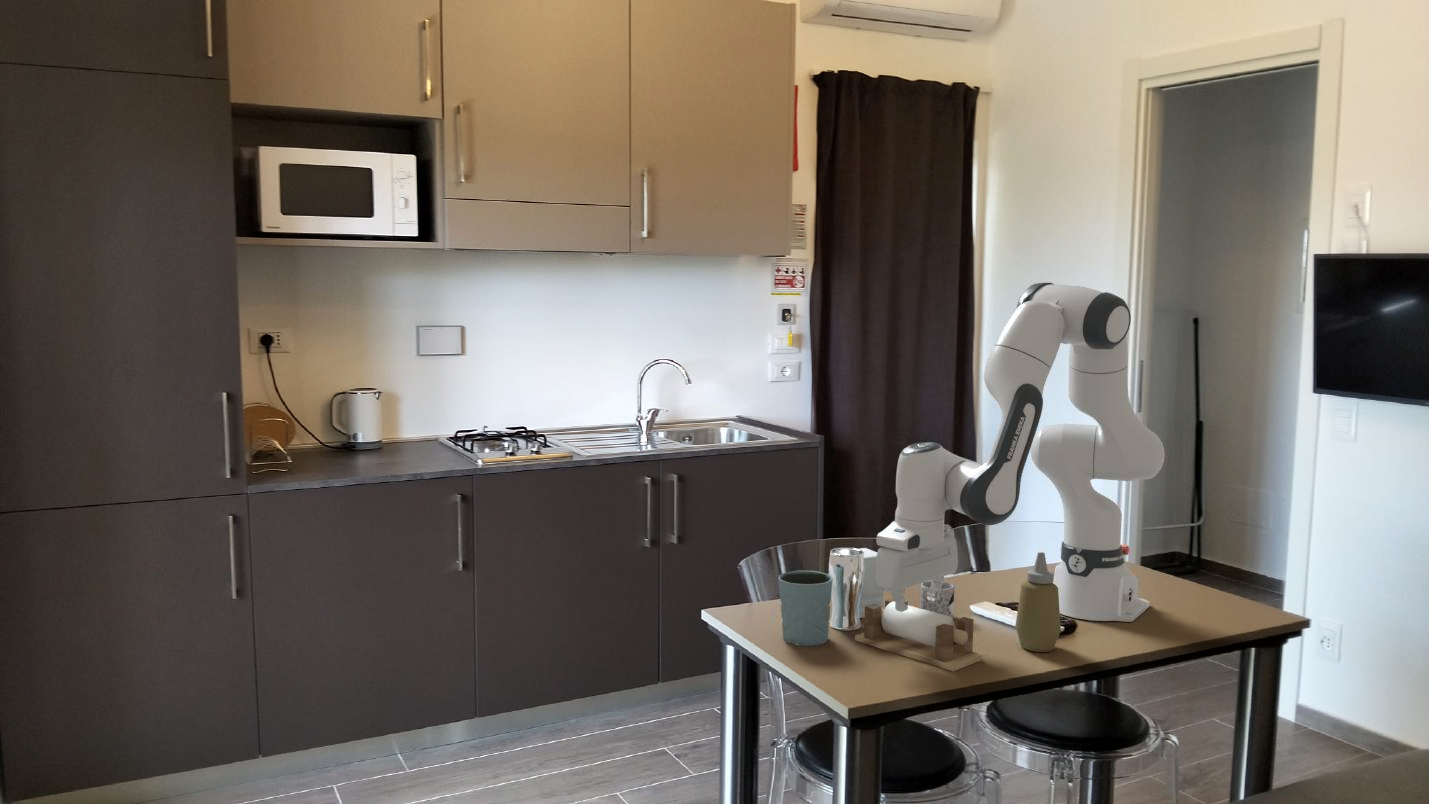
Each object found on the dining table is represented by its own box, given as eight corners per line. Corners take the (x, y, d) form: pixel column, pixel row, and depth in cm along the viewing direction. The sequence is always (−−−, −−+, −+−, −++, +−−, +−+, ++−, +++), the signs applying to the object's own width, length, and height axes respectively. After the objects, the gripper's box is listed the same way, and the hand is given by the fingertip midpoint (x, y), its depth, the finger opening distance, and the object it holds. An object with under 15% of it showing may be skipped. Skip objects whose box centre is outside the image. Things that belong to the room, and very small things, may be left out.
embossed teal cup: (842, 641, 199) (843, 578, 197) (800, 651, 193) (802, 586, 192) (807, 627, 207) (808, 567, 206) (766, 636, 201) (767, 574, 200)
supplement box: (864, 606, 222) (866, 547, 221) (883, 615, 215) (885, 555, 214) (834, 609, 219) (835, 550, 218) (852, 619, 212) (854, 558, 211)
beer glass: (842, 633, 203) (844, 557, 202) (820, 623, 209) (822, 549, 208) (870, 627, 207) (872, 553, 205) (847, 618, 213) (849, 545, 211)
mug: (956, 622, 211) (957, 589, 211) (923, 621, 211) (924, 589, 211) (945, 607, 221) (946, 576, 221) (913, 607, 221) (914, 576, 221)
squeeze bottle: (1025, 637, 202) (1029, 545, 200) (1066, 647, 197) (1071, 552, 195) (1007, 648, 196) (1011, 553, 194) (1049, 658, 190) (1054, 560, 189)
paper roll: (864, 631, 199) (864, 601, 199) (884, 623, 203) (884, 593, 203) (954, 658, 185) (954, 625, 184) (973, 649, 189) (973, 617, 188)
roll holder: (854, 640, 199) (855, 604, 198) (884, 630, 205) (885, 595, 205) (953, 671, 183) (954, 631, 182) (982, 659, 189) (983, 621, 188)
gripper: (939, 520, 202) (937, 590, 203) (870, 537, 188) (868, 612, 190) (967, 525, 197) (965, 597, 199) (898, 543, 184) (896, 620, 185)
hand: (917, 605), depth 194 cm, fingers open, 8 cm apart
